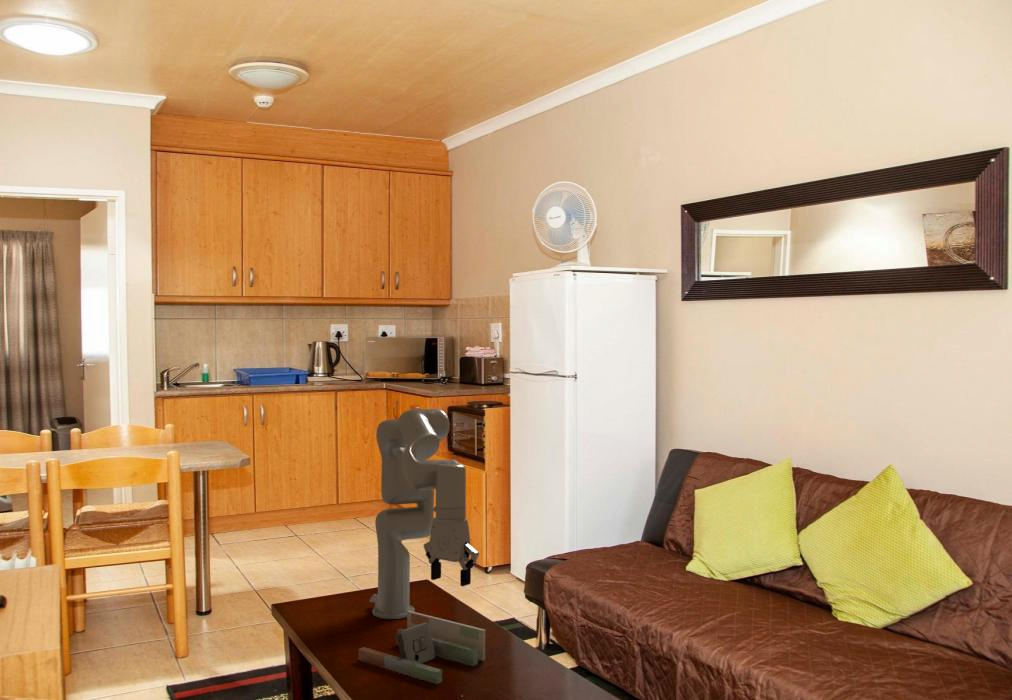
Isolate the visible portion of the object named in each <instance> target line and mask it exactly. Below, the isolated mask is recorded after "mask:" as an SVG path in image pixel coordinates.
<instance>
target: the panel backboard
mask: <svg viewBox="0 0 1012 700" xmlns="http://www.w3.org/2000/svg"><path fill="white" fill-rule="evenodd" d="M406 620H407V622H406V625H407V626H406V629H409V628H411V627H414V626H417V625H420V624H423V623H428V624H429V627H430V632H431V636H432V637H436V638H440V639H444V640H447V641H451V642H455V643H459V644H462V645H466V646H470V647H474V648H477V649H478V661H480V660H481V661H480V662H485V661H486V629H484V628H480V627H476V626H472V625H468V624H465V623H460V622H456V621H452V620H448V619H444V618H440V617H435V616H432V615H428V614H424V613H421V612H416V611H414V612H412V611H407V617H406ZM484 660H485V661H484Z"/></svg>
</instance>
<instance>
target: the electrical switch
mask: <svg viewBox="0 0 1012 700" xmlns="http://www.w3.org/2000/svg"><path fill="white" fill-rule="evenodd" d="M405 629H406V630H403V631H402V632H401V633H398V634H397V633H396V639H397V640H398V645H397V646H398V650H399V656H400V658H403V659H407V660H410V661H413V662H417V663H420V664H424V663H425V664H426V662H429V661H432V660H434V659H435V658H436V656H435V653H434V648H433V642H432V637H431V632H430V627H429V624H428V623H423V624H420V625H417V626H414V627H411V628H409V629H407V628H405Z"/></svg>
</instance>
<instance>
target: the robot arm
mask: <svg viewBox="0 0 1012 700" xmlns="http://www.w3.org/2000/svg"><path fill="white" fill-rule="evenodd" d="M449 432H450V420H449V417H448V415H447V413H446V412H445V411H444V410H442V409H439V408H425V409H424V408H421V409H420V408H418V409H414V408H413V409H409V410H407V411H404V412H402V413H401V414H400V416H398V418H394V419H393V418H392V419H386V420H383V421H381V422H380V423H379V424H378V425H377V428H376V434H375V435H376V442H377V443H376V444H377V447H378V449H379V454H380V459H381V475H380V476H381V479H380V480H381V484H380V486H381V488H380V491H381V492H380V495H381V499H382V501H383V502H384V503H386V505H387V504H388V505H394V506H395V505H397V506H398V505H409V504H416V506H410V507H394V508H393V507H391V508H386V509H382V510H381V511H379V512H378V513H377V515H376V516H375V523H374V524H375V531H376V538H377V551H378V552H377V555H378V556H377V565H378V566H377V594H376V593H373V594H372V595H371V597H370V599H369V602H370V603H374V607H373V608H372V611H371V612H372V615H373V616H374V617H375V618H379V619H385V620H398V619H404V618H407V611H412V612H415V607H414V606H413V605H410V594H411V593H410V590H411V589H410V582H411V581H410V580H411V579H410V578H411V577H410V575H411V574H410V573H411V571H410V570H411V564H410V563H411V557H410V551H409V550H408V549H407V547H406V546H405V545H404V544H403V542H402V541H405V540H416V539H417V540H418V539H425V538H428V537H429V536H430V537H429V541H428V542H426V543H424V544H423V550H424V551H425V556H426V558H427V559H428V563H429V564H430V580H432V581H435V580H438V579H441V578H442V563H441V561H440V560H442V561H448V562H454V563H457V562H458V564H459V565H460V567H461V568H462V569H460V578H459V579H460V580H459V582H460V586H461V587H466V586H469V585H470V584H471V579H472V577H471V576H472V574H471V572H472V569H473V568H474V566H475V564H477V560H478V559H479V555H480V553H479V551H477V550H476V549H475V548H474V547H473V546H472V545H471V537H470V535H471V534H470V527H469V522H468V519H467V517H466V516H467V511H466V510H467V508H466V507H467V506H466V504H467V503H466V500H467V497H466V496H467V495H466V494H467V492H466V491H467V490H466V489H467V488H466V487H467V486H466V485H467V473H466V472H467V471H466V466H464V465H463V463H462V464H461V463H459V461H457V460H456V459H431V458H432V457H433V456H434V455H436V453H437V452H438V451H439V448H440V444H441V443H440V442H441V441H442V440H444V439H445V438H446V437H447V436H448V434H449ZM428 459H429V460H428ZM434 498H435V499H434ZM434 513H435V517H434Z"/></svg>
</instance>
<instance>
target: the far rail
mask: <svg viewBox="0 0 1012 700" xmlns="http://www.w3.org/2000/svg"><path fill="white" fill-rule="evenodd" d="M406 629H407V628H401V627H400V628H399V629H396V635H397V634H398V633H401V632H402V631H403V630H406ZM431 637H432V636H431ZM395 639H396V640H395V641H396V646H399V645H398V640H397V638H395ZM432 642H433V648H434V653H435V657H437V656H439V657H438V658H441V657H442V659H444V660H449V661H453V662H456V663H459V664H462V665H466V666H469V665H470V666H471V667H475V666H477V665H478V664H479V660H478V649H477V648H474V647H470V646H466V645H462V644H459V643H455V642H451V641H447V640H444V639H440V638H436V637H432Z"/></svg>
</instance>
